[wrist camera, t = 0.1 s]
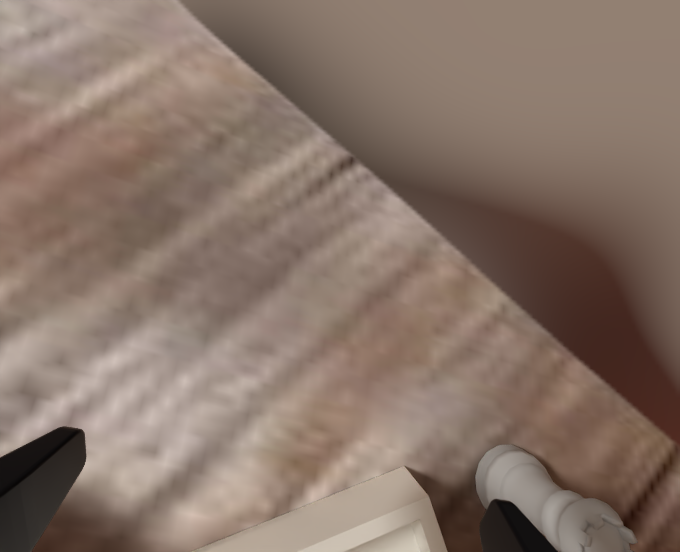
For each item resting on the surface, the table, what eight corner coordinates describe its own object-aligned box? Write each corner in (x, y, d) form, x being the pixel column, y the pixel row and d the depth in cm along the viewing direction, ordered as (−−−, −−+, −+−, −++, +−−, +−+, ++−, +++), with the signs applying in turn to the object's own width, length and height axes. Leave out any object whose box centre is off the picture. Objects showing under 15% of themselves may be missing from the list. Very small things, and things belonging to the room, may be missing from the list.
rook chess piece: (546, 507, 22) (677, 594, 14) (482, 526, 22) (583, 629, 14) (525, 434, 23) (638, 480, 15) (463, 451, 22) (548, 507, 15)
